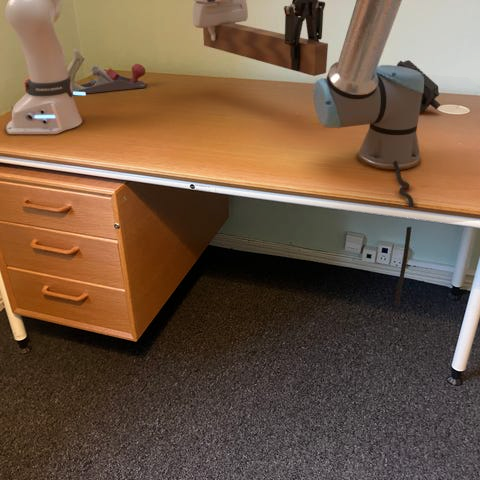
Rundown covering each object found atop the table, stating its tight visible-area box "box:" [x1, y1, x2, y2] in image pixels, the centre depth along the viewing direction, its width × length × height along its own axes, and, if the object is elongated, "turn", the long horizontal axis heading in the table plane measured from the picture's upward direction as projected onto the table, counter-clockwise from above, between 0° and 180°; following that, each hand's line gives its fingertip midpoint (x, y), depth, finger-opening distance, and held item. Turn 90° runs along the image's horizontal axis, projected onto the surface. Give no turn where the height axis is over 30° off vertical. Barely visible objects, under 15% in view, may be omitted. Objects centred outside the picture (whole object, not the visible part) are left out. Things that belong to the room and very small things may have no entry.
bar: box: [202, 23, 329, 77], centre depth 164 cm, size 53×5×8 cm, turn 39°
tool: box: [396, 59, 442, 114], centre depth 170 cm, size 6×19×15 cm, turn 51°
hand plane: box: [67, 48, 146, 94], centre depth 194 cm, size 7×31×15 cm, turn 107°
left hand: (221, 38), depth 177 cm, fingers closed on bar, 5 cm apart
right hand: (302, 67), depth 153 cm, fingers closed on bar, 5 cm apart
